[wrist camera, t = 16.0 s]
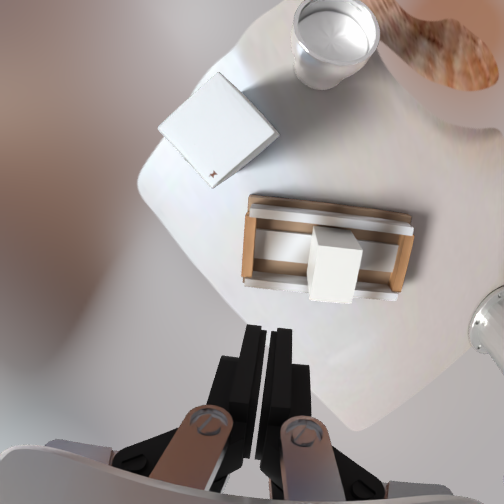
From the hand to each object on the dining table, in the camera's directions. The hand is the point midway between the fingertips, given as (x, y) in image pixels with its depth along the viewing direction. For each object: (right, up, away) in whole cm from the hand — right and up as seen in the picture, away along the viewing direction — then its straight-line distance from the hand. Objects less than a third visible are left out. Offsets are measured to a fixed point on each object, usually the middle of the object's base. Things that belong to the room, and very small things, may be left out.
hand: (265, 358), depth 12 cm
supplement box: (-2, +18, +25) cm, 31 cm away
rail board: (+9, +5, +28) cm, 30 cm away
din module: (+9, +4, +27) cm, 28 cm away
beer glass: (+7, +26, +21) cm, 34 cm away
